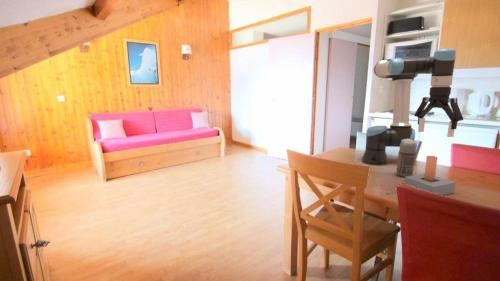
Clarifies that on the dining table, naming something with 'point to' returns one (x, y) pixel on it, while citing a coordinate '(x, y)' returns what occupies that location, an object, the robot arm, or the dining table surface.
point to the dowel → (430, 168)
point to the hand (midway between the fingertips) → (434, 134)
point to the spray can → (406, 157)
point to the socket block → (431, 184)
